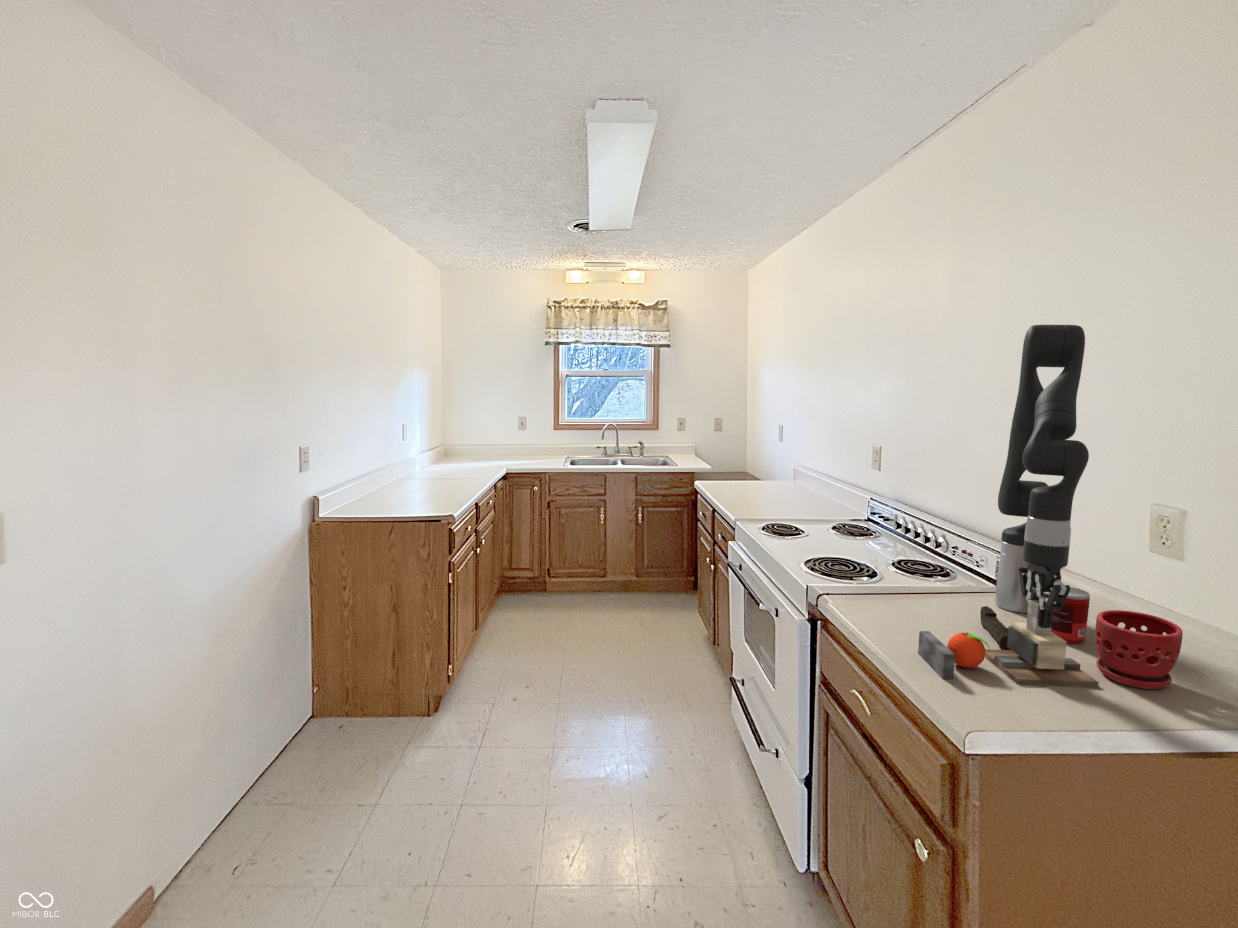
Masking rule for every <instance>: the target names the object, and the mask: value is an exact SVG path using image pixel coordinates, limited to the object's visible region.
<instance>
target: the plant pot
mask: <svg viewBox="0 0 1238 928" xmlns="http://www.w3.org/2000/svg"><path fill="white" fill-rule="evenodd" d="M1121 623H1123V624H1124V627H1119V624H1121ZM1142 627H1145V628H1146V630H1143V629H1142ZM1132 628H1133V629H1134V630H1135V631H1134V630H1131V629H1132ZM1094 631H1095V645H1096V650H1097V653H1098V655H1099V658H1097V659H1096V662H1095V663H1096V667H1097V668H1098V671H1100V673H1102V674H1103V675H1104V676H1106V677H1107V678H1109V679H1111V680H1113V681H1115V682H1117V683H1120V684H1123V685H1127V686H1130V687H1134V688H1139V689H1145V690H1147V689H1148V690H1158V689H1164V688H1166V687H1168V686H1169V685H1170V684H1171V683H1172V678H1173V677H1172V676H1171V675H1170V672H1171V671H1172V670H1173V668H1174V667H1175V665H1176V663H1177V661H1178V658H1179V656H1180V653H1181V649H1182V643H1183V642H1182V641H1183V633H1184V632H1183V631H1184V630H1183V629H1182V628H1181V627H1180V626H1179V625H1178V624H1176V623H1174V622H1172V621H1169V620H1167V619H1165V618H1162V617H1159V616H1155V615H1152V614H1148V613H1143V612H1138V611H1137V612H1136V611H1131V610H1124V609H1123V610H1122V609H1121V610H1119V609H1113V610H1111V609H1109V610H1103V611H1100V612H1099V613H1098V614H1096V618H1095V630H1094ZM1164 633H1165V634H1164Z"/></svg>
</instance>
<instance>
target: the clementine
mask: <svg viewBox="0 0 1238 928" xmlns="http://www.w3.org/2000/svg"><path fill="white" fill-rule="evenodd" d="M984 644H985V645H986V646H987V647H988V649H989V650H990V651H991V650H992V649H991V647H990V645H989V644H988V643H987V642H986V641H985V640H984V638H982V637H979V636H978V635H975V634H972V633H969V632H959V633H955V634H954V635H953V636H951V637H950V639H949V640H948V641H947V645H946V647H947V648H948V649H949V650H950V651H952V652H953V653H954V654H955V664H956V665H957V666H959V667H963V668H965V669H971V668H972V669H973V668H975V667H978V666H979V665H981V664H982V663H983V662H984V660H985V659H986V658H985V654H986V653H985V649H986V648H985V645H984Z"/></svg>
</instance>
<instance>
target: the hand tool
mask: <svg viewBox="0 0 1238 928" xmlns="http://www.w3.org/2000/svg"><path fill="white" fill-rule="evenodd" d="M979 618H980V623H981V626H982V628H983V629H984V630H987V631H988V633H989V634H990V635H991V636H992V637H993V639H994V640H995V641H996V642H997V643H998V645H999V646H998V648H999V650H1011V649H1010V648H1008V647H1007V640H1008V629H1009V627H1006V626H1005V625H1004V623H1002V622H1001V621H1000V620H999V619H998V617H997V613H996V612H995V611H994V609H992V608H991V607H990V606H987V605H985V606H981V607H980V617H979Z"/></svg>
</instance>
